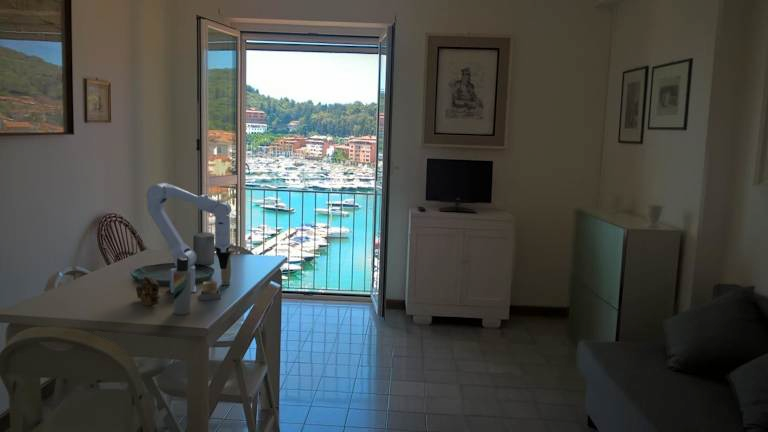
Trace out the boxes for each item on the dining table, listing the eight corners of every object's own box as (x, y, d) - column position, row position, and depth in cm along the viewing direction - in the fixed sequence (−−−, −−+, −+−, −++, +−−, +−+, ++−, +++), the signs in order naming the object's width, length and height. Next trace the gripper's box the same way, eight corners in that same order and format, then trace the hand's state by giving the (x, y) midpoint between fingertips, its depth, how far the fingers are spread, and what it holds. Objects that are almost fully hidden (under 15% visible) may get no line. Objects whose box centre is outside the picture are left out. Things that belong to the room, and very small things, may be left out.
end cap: (199, 299, 232) (199, 294, 232) (199, 295, 237) (199, 290, 237) (220, 299, 235) (220, 294, 234) (219, 295, 240) (219, 290, 239)
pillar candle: (193, 260, 294) (193, 229, 292) (214, 259, 297) (214, 229, 294) (193, 265, 285) (193, 233, 282) (214, 264, 288) (215, 233, 285)
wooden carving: (131, 300, 227) (131, 274, 226) (143, 298, 230) (143, 272, 229) (152, 311, 216) (152, 284, 215) (164, 309, 219) (164, 282, 218)
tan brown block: (203, 299, 234) (203, 283, 233) (202, 296, 237) (203, 281, 236) (216, 298, 235) (216, 283, 235) (216, 296, 238) (216, 281, 237)
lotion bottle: (184, 309, 220) (185, 254, 217) (193, 312, 217) (194, 257, 214) (170, 312, 216) (170, 257, 213) (179, 316, 213) (179, 260, 210)
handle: (228, 286, 252) (229, 251, 250) (215, 284, 254) (216, 249, 252) (235, 284, 257) (236, 249, 254) (222, 282, 259) (223, 247, 257)
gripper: (234, 236, 235) (234, 270, 237) (231, 229, 249) (231, 262, 251) (215, 236, 233) (215, 271, 235) (213, 229, 247) (214, 262, 249)
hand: (222, 266), depth 243 cm, fingers open, 7 cm apart
